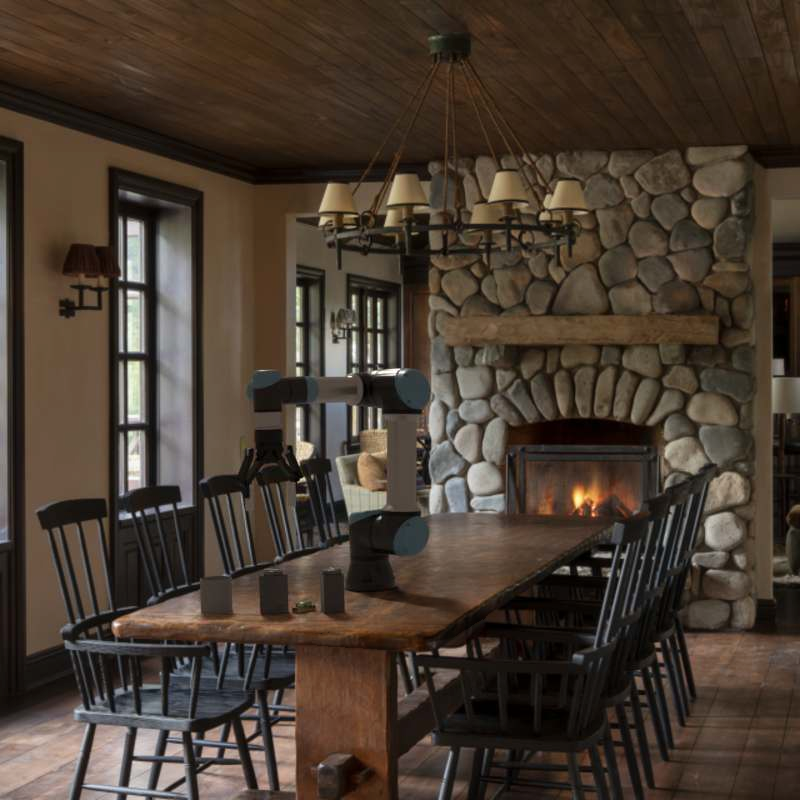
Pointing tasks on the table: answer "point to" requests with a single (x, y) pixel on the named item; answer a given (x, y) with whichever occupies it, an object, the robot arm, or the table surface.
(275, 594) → the knob
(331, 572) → the knob
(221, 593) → the cup
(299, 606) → the bubble vial
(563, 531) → the table surface
